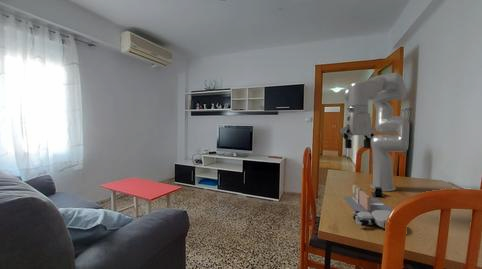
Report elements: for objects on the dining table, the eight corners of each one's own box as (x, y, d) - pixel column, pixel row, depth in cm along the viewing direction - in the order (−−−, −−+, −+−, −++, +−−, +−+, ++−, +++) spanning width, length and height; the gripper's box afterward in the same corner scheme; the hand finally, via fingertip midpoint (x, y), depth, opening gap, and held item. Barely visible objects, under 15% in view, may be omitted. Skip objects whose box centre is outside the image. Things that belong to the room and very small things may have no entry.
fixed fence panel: (352, 198, 106) (352, 184, 106) (355, 198, 106) (355, 184, 106) (358, 204, 98) (358, 189, 97) (362, 204, 97) (362, 189, 97)
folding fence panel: (359, 203, 97) (359, 190, 97) (362, 203, 97) (362, 190, 97) (367, 210, 88) (367, 197, 88) (370, 211, 88) (370, 197, 88)
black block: (388, 200, 103) (388, 191, 103) (371, 198, 106) (371, 190, 106) (384, 193, 114) (384, 185, 114) (368, 191, 117) (368, 183, 117)
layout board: (343, 197, 108) (343, 196, 107) (377, 198, 104) (377, 198, 104) (356, 212, 89) (356, 211, 89) (398, 214, 86) (398, 213, 86)
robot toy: (357, 232, 74) (406, 235, 70) (356, 220, 74) (405, 222, 70) (350, 218, 86) (392, 219, 81) (349, 207, 86) (391, 208, 81)
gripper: (347, 108, 87) (346, 149, 87) (381, 109, 90) (381, 148, 91) (335, 110, 94) (335, 147, 95) (368, 111, 98) (367, 147, 98)
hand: (357, 148), depth 93 cm, fingers open, 9 cm apart
